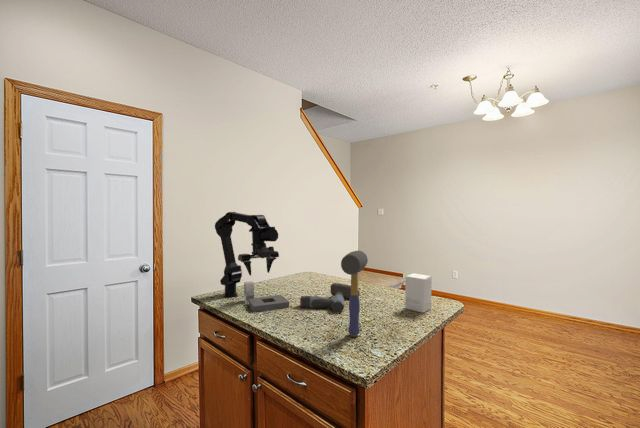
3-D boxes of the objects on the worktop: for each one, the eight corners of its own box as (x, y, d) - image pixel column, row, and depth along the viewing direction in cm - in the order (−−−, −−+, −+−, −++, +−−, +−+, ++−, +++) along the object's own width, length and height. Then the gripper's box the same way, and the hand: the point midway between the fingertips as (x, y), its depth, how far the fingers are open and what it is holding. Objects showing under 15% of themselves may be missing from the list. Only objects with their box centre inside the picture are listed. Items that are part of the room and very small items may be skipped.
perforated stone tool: (360, 298, 147) (361, 284, 147) (358, 301, 142) (358, 287, 142) (333, 294, 153) (333, 281, 153) (329, 297, 148) (329, 283, 148)
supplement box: (431, 308, 133) (432, 275, 133) (423, 313, 126) (424, 279, 126) (413, 303, 139) (413, 272, 139) (404, 308, 132) (404, 275, 132)
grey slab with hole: (248, 303, 136) (248, 298, 136) (281, 299, 143) (281, 294, 143) (253, 312, 125) (253, 306, 125) (289, 307, 132) (289, 301, 132)
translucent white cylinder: (244, 300, 141) (244, 282, 141) (252, 299, 143) (252, 281, 143) (245, 303, 138) (245, 284, 138) (254, 301, 139) (254, 283, 139)
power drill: (305, 298, 146) (344, 300, 144) (298, 311, 128) (344, 314, 126) (305, 288, 146) (344, 289, 144) (298, 299, 128) (344, 301, 126)
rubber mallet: (348, 327, 111) (349, 248, 110) (368, 330, 108) (369, 250, 107) (338, 340, 99) (339, 253, 99) (359, 344, 96) (360, 254, 96)
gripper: (246, 243, 126) (247, 279, 126) (284, 240, 137) (285, 273, 137) (237, 242, 135) (238, 275, 135) (273, 239, 146) (274, 270, 146)
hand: (259, 273), depth 138 cm, fingers open, 9 cm apart
